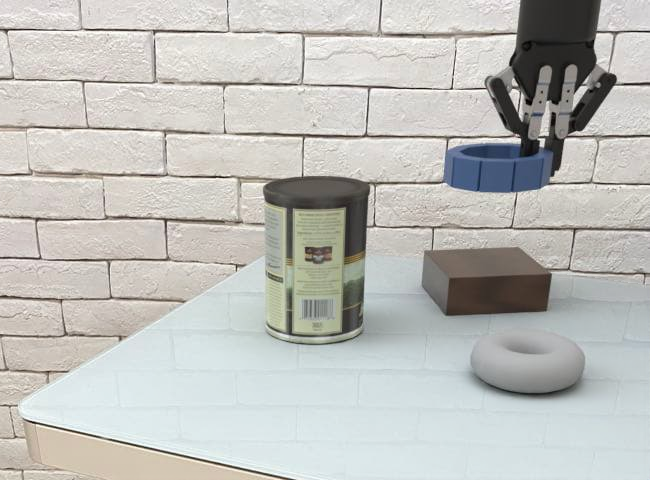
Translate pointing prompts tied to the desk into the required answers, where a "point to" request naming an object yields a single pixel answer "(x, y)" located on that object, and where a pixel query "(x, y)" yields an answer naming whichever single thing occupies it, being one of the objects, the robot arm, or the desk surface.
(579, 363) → the donut
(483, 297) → the platform
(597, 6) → the robot arm
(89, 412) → the desk surface
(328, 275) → the coffee can
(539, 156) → the ring
